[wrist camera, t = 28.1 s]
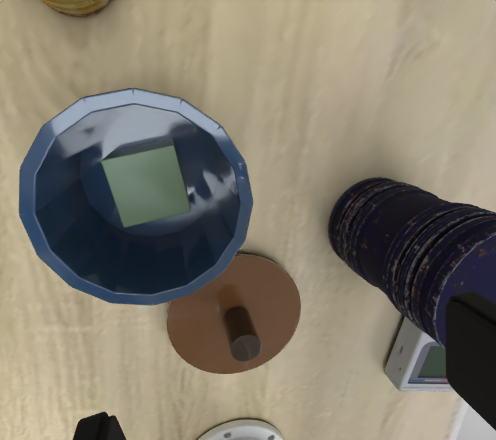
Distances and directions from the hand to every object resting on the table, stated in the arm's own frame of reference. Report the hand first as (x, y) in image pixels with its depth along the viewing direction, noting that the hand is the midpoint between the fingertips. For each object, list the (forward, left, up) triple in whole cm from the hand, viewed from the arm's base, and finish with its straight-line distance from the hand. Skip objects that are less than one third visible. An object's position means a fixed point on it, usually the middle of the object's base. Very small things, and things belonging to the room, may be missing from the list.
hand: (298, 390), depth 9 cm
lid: (-13, 0, -23) cm, 26 cm away
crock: (+3, +4, -23) cm, 24 cm away
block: (+3, +4, -23) cm, 23 cm away
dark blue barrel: (-7, -16, -23) cm, 29 cm away
